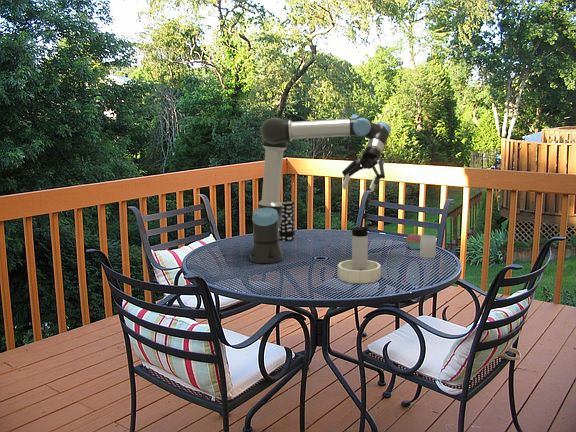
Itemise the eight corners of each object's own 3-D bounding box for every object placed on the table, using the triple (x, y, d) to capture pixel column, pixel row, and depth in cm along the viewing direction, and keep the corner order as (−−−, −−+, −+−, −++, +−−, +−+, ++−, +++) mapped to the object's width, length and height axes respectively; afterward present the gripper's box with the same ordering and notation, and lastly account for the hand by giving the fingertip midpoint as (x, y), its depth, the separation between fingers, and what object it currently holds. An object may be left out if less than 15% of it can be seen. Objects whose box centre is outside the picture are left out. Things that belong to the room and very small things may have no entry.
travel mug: (364, 277, 217) (364, 229, 214) (349, 275, 221) (349, 227, 217) (370, 273, 223) (370, 226, 219) (355, 271, 226) (356, 224, 222)
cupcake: (423, 250, 261) (424, 226, 259) (405, 250, 263) (406, 225, 260) (422, 246, 269) (423, 222, 267) (405, 245, 271) (405, 222, 269)
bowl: (333, 281, 217) (333, 269, 216) (344, 269, 233) (344, 258, 232) (375, 285, 211) (375, 272, 210) (383, 272, 227) (383, 261, 226)
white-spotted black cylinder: (297, 238, 291) (296, 201, 288) (290, 242, 284) (290, 204, 280) (283, 237, 295) (282, 201, 291) (276, 240, 287) (275, 203, 284)
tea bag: (434, 258, 247) (435, 236, 245) (419, 257, 250) (420, 236, 248) (435, 256, 251) (436, 235, 249) (420, 255, 253) (421, 234, 251)
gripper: (401, 157, 240) (385, 195, 231) (351, 156, 254) (335, 191, 245) (396, 146, 235) (380, 185, 225) (346, 145, 249) (329, 181, 240)
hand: (357, 188), depth 235 cm, fingers open, 13 cm apart
